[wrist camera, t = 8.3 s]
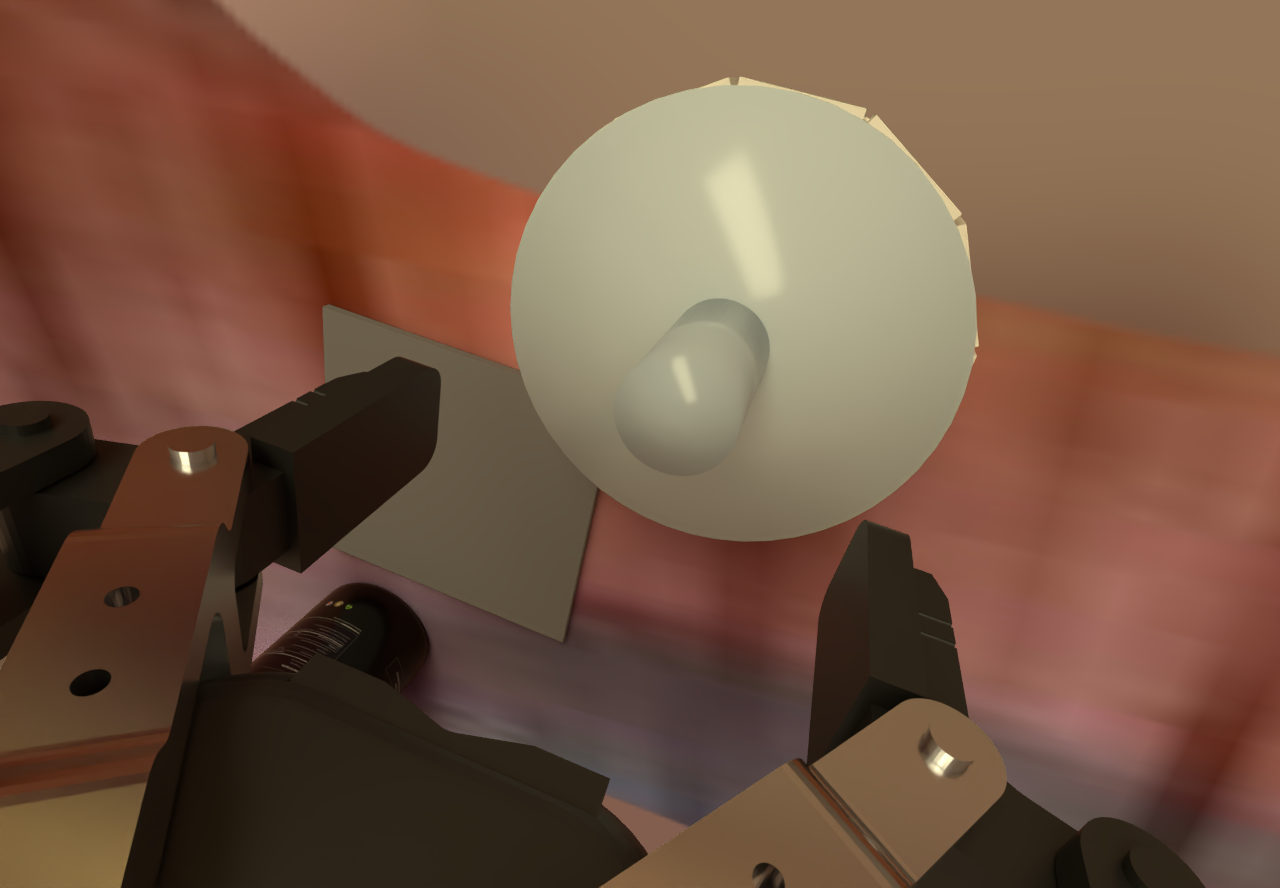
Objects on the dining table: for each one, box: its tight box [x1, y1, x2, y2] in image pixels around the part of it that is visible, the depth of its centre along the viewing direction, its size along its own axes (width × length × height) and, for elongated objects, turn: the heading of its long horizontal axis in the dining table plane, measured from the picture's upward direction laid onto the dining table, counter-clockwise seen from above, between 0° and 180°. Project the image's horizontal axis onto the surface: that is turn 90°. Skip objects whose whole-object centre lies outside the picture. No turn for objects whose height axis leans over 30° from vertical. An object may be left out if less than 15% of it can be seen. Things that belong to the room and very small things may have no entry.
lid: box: [510, 85, 977, 542], centre depth 17 cm, size 13×13×6 cm
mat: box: [323, 305, 599, 642], centre depth 32 cm, size 14×14×1 cm
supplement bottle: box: [250, 583, 427, 694], centre depth 33 cm, size 7×7×12 cm
